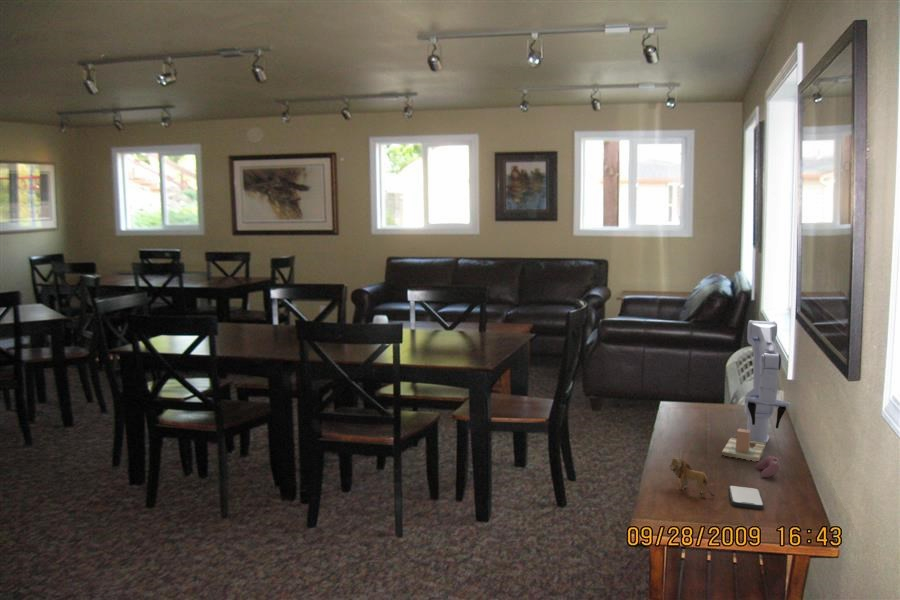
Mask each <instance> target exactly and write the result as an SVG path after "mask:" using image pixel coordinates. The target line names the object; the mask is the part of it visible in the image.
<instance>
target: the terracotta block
mask: <svg viewBox="0 0 900 600" xmlns="http://www.w3.org/2000/svg"><path fill="white" fill-rule="evenodd" d="M750 435H751V430H747V428H745V429H744V428H738V429H737V430H736V451H739V452H745V453H748V452H749V448H750Z"/></svg>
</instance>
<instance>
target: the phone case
mask: <svg viewBox="0 0 900 600" xmlns="http://www.w3.org/2000/svg"><path fill="white" fill-rule="evenodd" d="M728 492H729V493H728V494H729V498H730V502H731V506H733V507H734V508H735V507H737V508H744V509H750V510H751V509H752V510H764V508H765V504H764V500H763V498H762V494H761V491H760V490H759V488H752V487H745V486H735V485H729V486H728Z"/></svg>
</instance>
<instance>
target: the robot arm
mask: <svg viewBox="0 0 900 600" xmlns="http://www.w3.org/2000/svg"><path fill="white" fill-rule="evenodd" d="M746 330H747V332H746V333H747V338H746V340H747V343H748V344H749V345H751V346H752V350H753V369H752V370H753V371H752V372H753V374H752V375H753V376H752V377H753V378H752V381H753V382H752V383H753V384H752V389H750V390H749V391H747V392H746V393H745V397H744V406H743V408H744V412H745V414H747V425H746V430H751V435H750V441H756V442H762V443H766V444H767V443H768V441H769V439H770V435H769V434H768V433H769V432H768V431H769V420H770V418H771V416H773V415H774V414H775V408H777V412H776V415H777V416H776V423H775V429H779V426H780V422H781V419H782V417H783V415H784V414H785V412H786V410H787V409H788V410H789V409H790V408H791V407H790V406H791V402H790V401H789V402H788V401H783V400H779V399H777V395H778V394H777V393H778V383H779V371H781V367H782V355H781V353H780V352H778V349H777V345H776V343H775V341H776V338H777V334H778V323H777V321H766V320H765V321H764V320H752V319H750V320H748V324H747V329H746Z"/></svg>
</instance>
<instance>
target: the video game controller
mask: <svg viewBox="0 0 900 600" xmlns="http://www.w3.org/2000/svg"><path fill="white" fill-rule="evenodd" d="M755 468H756V469H757V470H758V469H761V470H762V471H761V472H760V477H761V478H763V477H767V478H770V477H773V475H775V474H776V473H778V472H780V471H781V463H780V459H778V458H777V457H776V456H774V455H771V454H770V455H768V456H766V457H765V458H763V459H762V460H761V461H760V460H759V462H757V463H756V466H755Z"/></svg>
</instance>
